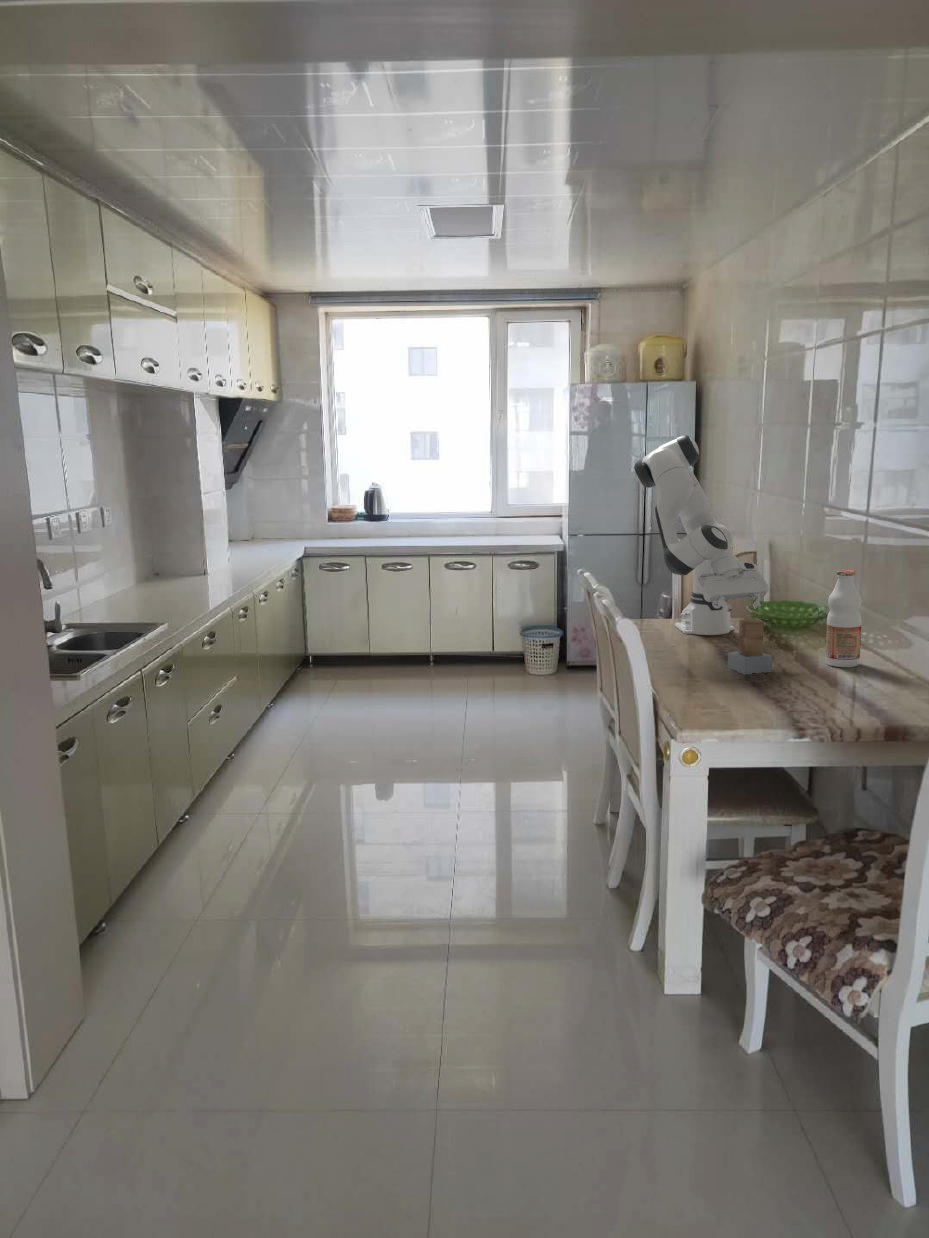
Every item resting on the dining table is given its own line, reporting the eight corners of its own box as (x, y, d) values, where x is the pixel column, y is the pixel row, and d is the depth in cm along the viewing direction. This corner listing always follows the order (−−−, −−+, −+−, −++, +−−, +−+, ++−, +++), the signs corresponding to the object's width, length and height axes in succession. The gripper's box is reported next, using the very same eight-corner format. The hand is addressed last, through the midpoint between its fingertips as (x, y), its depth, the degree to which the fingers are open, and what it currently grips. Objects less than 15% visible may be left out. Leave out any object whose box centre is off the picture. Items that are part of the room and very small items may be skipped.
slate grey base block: (727, 668, 270) (727, 652, 269) (754, 665, 272) (754, 649, 271) (744, 675, 261) (744, 658, 260) (771, 672, 263) (772, 655, 263)
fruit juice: (818, 663, 270) (821, 570, 265) (841, 658, 274) (844, 567, 269) (843, 669, 262) (847, 574, 257) (866, 665, 266) (871, 571, 261)
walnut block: (738, 652, 267) (739, 619, 265) (754, 651, 268) (755, 618, 266) (746, 656, 263) (747, 623, 261) (762, 655, 263) (763, 622, 261)
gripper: (699, 568, 272) (715, 606, 264) (760, 563, 276) (778, 600, 269) (692, 581, 277) (708, 618, 270) (752, 576, 282) (769, 612, 274)
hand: (743, 609), depth 269 cm, fingers open, 8 cm apart
